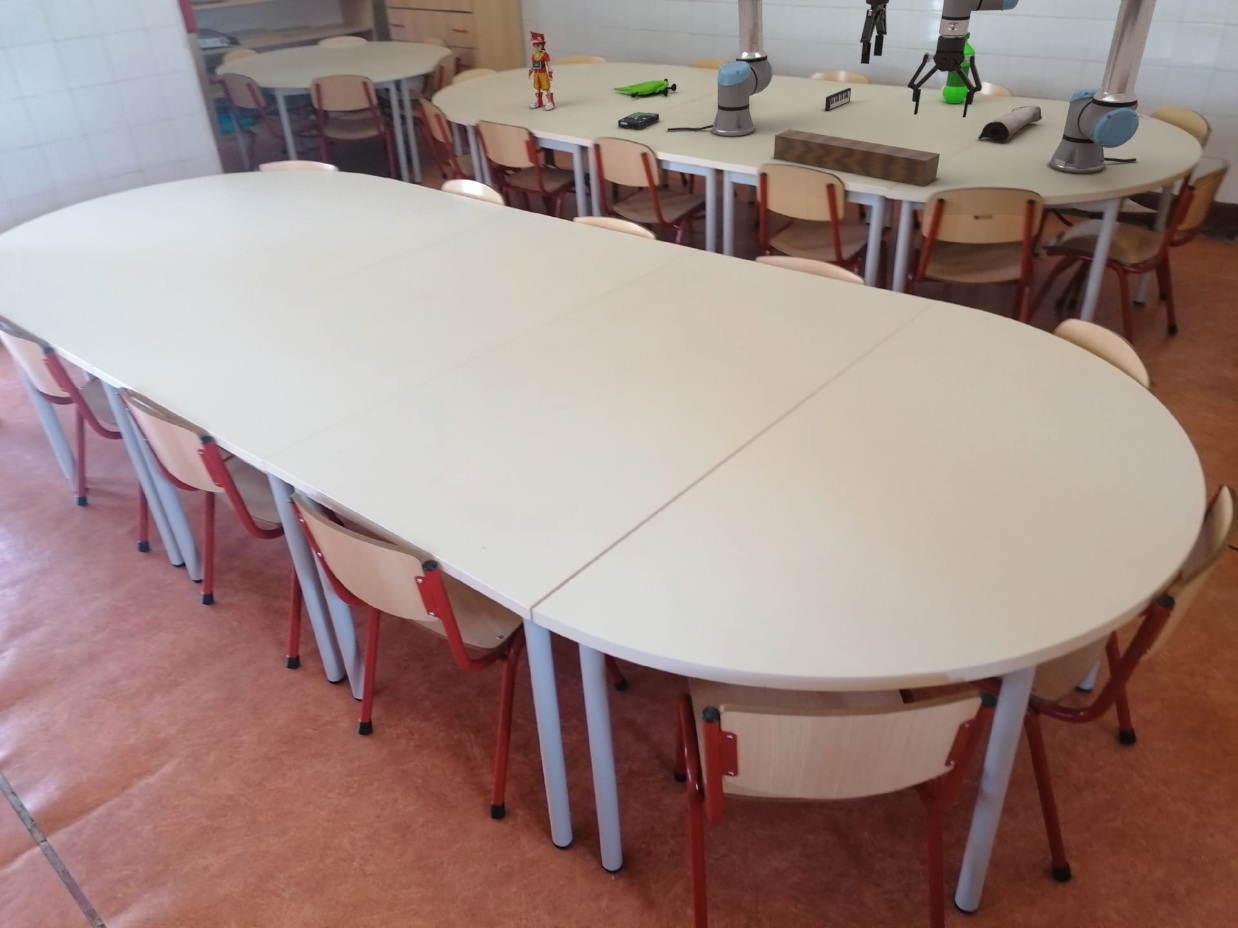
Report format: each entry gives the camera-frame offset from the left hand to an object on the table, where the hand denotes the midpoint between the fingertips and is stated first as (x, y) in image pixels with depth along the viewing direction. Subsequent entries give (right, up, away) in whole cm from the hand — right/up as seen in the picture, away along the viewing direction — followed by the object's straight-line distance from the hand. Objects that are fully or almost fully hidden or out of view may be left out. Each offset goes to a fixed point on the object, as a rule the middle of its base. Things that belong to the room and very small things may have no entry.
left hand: (871, 60), depth 308 cm
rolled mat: (+52, -21, +9) cm, 57 cm away
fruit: (+97, -12, +20) cm, 100 cm away
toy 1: (-119, +14, +75) cm, 142 cm away
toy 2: (-77, +26, +89) cm, 121 cm away
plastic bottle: (+46, +5, +47) cm, 66 cm away
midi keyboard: (+1, +5, +52) cm, 52 cm away
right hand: (+7, -37, -46) cm, 60 cm away
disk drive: (-79, -5, +44) cm, 91 cm away
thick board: (-11, -42, -15) cm, 46 cm away
